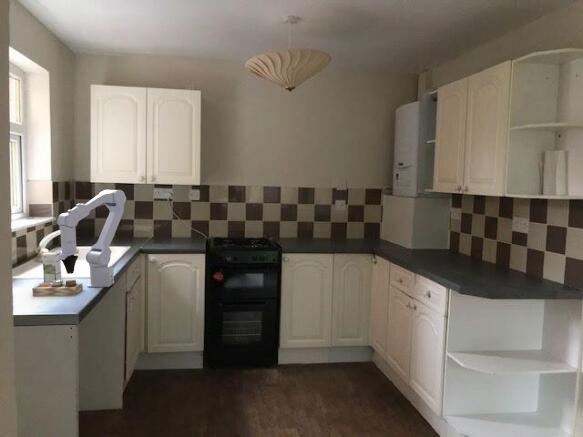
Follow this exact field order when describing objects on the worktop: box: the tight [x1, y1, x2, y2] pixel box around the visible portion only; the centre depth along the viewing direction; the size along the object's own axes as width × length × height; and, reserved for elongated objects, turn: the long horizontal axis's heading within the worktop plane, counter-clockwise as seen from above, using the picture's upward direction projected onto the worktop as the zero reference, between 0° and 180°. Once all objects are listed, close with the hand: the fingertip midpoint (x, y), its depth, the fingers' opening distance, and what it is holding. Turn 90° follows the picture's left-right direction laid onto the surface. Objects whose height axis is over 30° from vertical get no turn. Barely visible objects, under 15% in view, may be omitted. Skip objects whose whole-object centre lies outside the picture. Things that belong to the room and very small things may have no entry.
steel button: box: [52, 279, 64, 287], centre depth 207 cm, size 4×4×2 cm
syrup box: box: [41, 251, 63, 283], centre depth 221 cm, size 6×6×14 cm
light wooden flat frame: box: [31, 282, 84, 296], centre depth 207 cm, size 17×9×3 cm, turn 92°
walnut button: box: [65, 279, 77, 287], centre depth 207 cm, size 4×4×2 cm
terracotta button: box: [38, 282, 50, 287], centre depth 207 cm, size 4×4×2 cm
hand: (70, 273), depth 206 cm, fingers closed
